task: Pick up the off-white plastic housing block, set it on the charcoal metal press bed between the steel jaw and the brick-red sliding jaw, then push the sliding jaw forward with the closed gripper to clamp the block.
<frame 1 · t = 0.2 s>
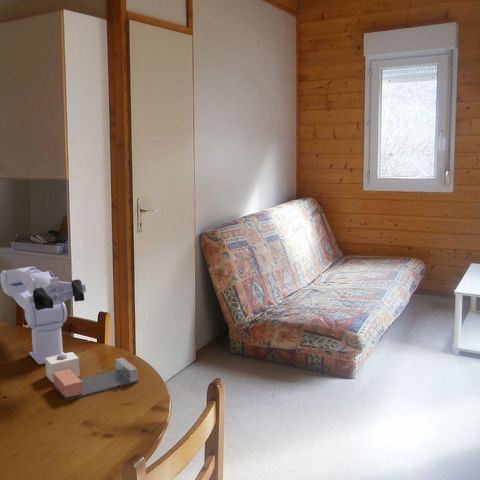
hand: (67, 300, 143), 21 cm above the table, fingers open, 7 cm apart
sliding jaw: (67, 382, 140), point 2 cm above the table, slide at 0.0 cm
press bed: (96, 384, 144), on the table
housing: (63, 376, 150), on the table
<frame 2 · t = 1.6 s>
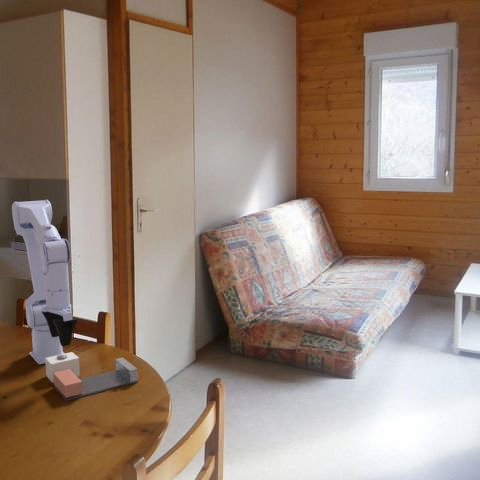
hand: (60, 340, 148), 9 cm above the table, fingers open, 7 cm apart
nothing on the table moved.
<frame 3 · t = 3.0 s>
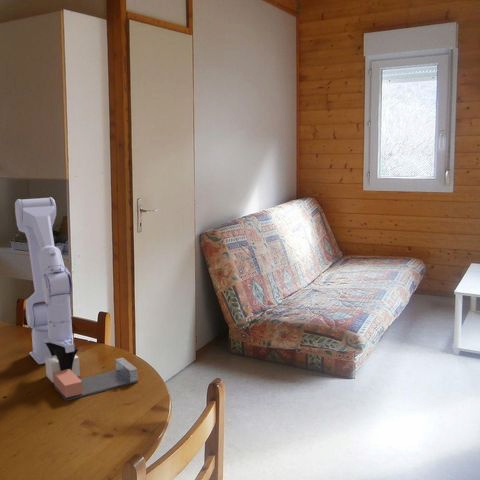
hand: (62, 370, 150), 1 cm above the table, fingers closed on housing, 5 cm apart
housing: (63, 375, 150), on the table, touching gripper
everything else where it was.
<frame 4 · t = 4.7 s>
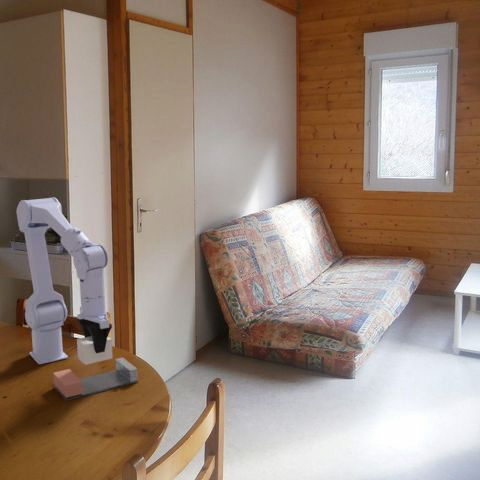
hand: (95, 348, 145), 9 cm above the table, fingers closed on housing, 5 cm apart
housing: (95, 358, 145), point 6 cm above the table, touching gripper
everything else where it was.
when the fingers open (2 cm above the table, at t = 6.6 s): housing stays where it is, resting on press bed.
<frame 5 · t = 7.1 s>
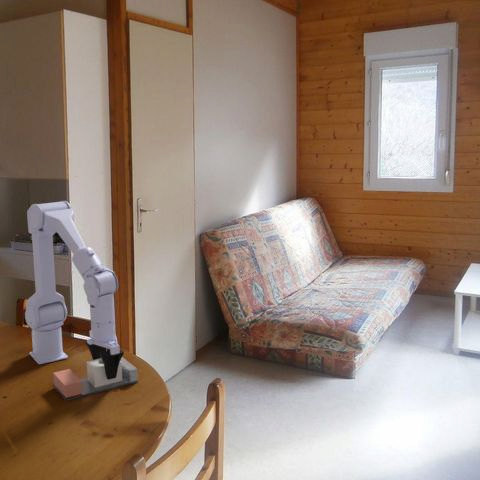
hand: (105, 373, 145), 2 cm above the table, fingers open, 7 cm apart
housing: (105, 380, 146), resting on press bed
everything else where it was.
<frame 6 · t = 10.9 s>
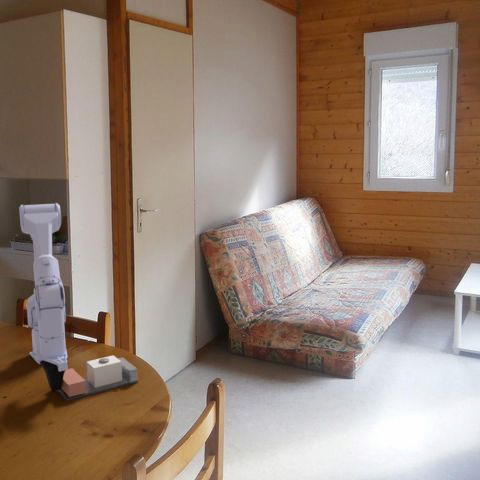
hand: (55, 389, 139), 1 cm above the table, fingers closed, pressing on sliding jaw
sliding jaw: (70, 382, 141), point 2 cm above the table, slide at 0.8 cm, touching gripper
everything else where it was.
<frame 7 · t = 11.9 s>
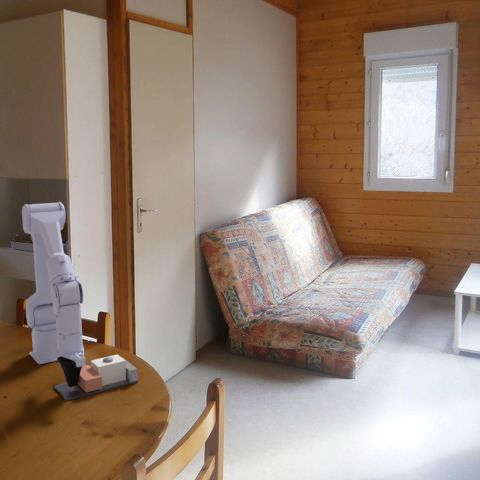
hand: (72, 385, 141), 1 cm above the table, fingers closed, pressing on sliding jaw
sliding jaw: (87, 378, 143), point 2 cm above the table, slide at 4.8 cm, touching gripper, housing
housing: (109, 379, 146), resting on press bed, touching sliding jaw
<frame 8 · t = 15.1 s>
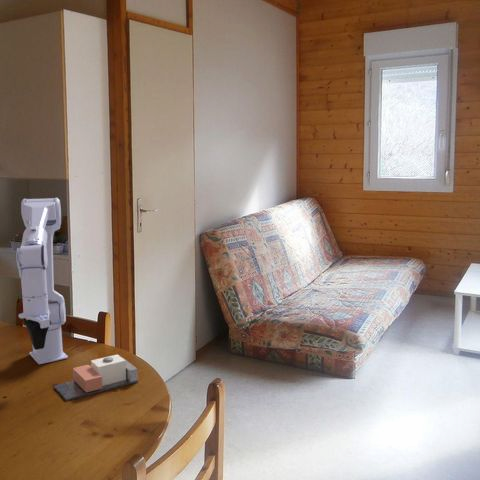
hand: (39, 348, 143), 9 cm above the table, fingers closed
sliding jaw: (87, 378, 143), point 2 cm above the table, slide at 4.8 cm, touching housing
everything else where it was.
at the end: housing 0.3 cm from the target spot on the press bed, point 0.5 cm above the press bed's base; sliding jaw slide at 4.8 cm; housing tilted 0° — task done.
